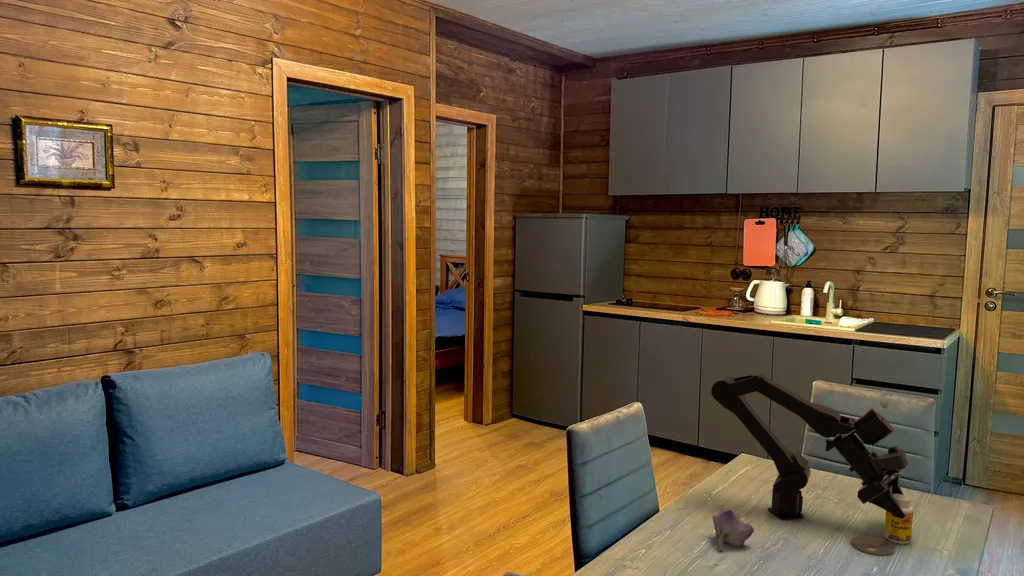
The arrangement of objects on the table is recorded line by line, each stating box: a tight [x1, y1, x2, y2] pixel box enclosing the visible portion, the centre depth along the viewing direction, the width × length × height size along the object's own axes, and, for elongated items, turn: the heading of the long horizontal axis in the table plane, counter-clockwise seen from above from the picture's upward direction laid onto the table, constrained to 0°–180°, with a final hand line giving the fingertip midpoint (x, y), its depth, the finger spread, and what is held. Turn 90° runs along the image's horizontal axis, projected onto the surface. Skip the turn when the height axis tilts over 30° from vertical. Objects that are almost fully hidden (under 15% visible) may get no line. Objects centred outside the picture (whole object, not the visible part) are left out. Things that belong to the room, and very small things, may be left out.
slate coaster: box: [849, 535, 896, 557], centre depth 165 cm, size 9×9×1 cm
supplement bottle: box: [883, 494, 914, 545], centre depth 169 cm, size 6×6×10 cm
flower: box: [712, 504, 755, 553], centre depth 164 cm, size 9×9×10 cm
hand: (906, 513), depth 168 cm, fingers closed on supplement bottle, 6 cm apart
